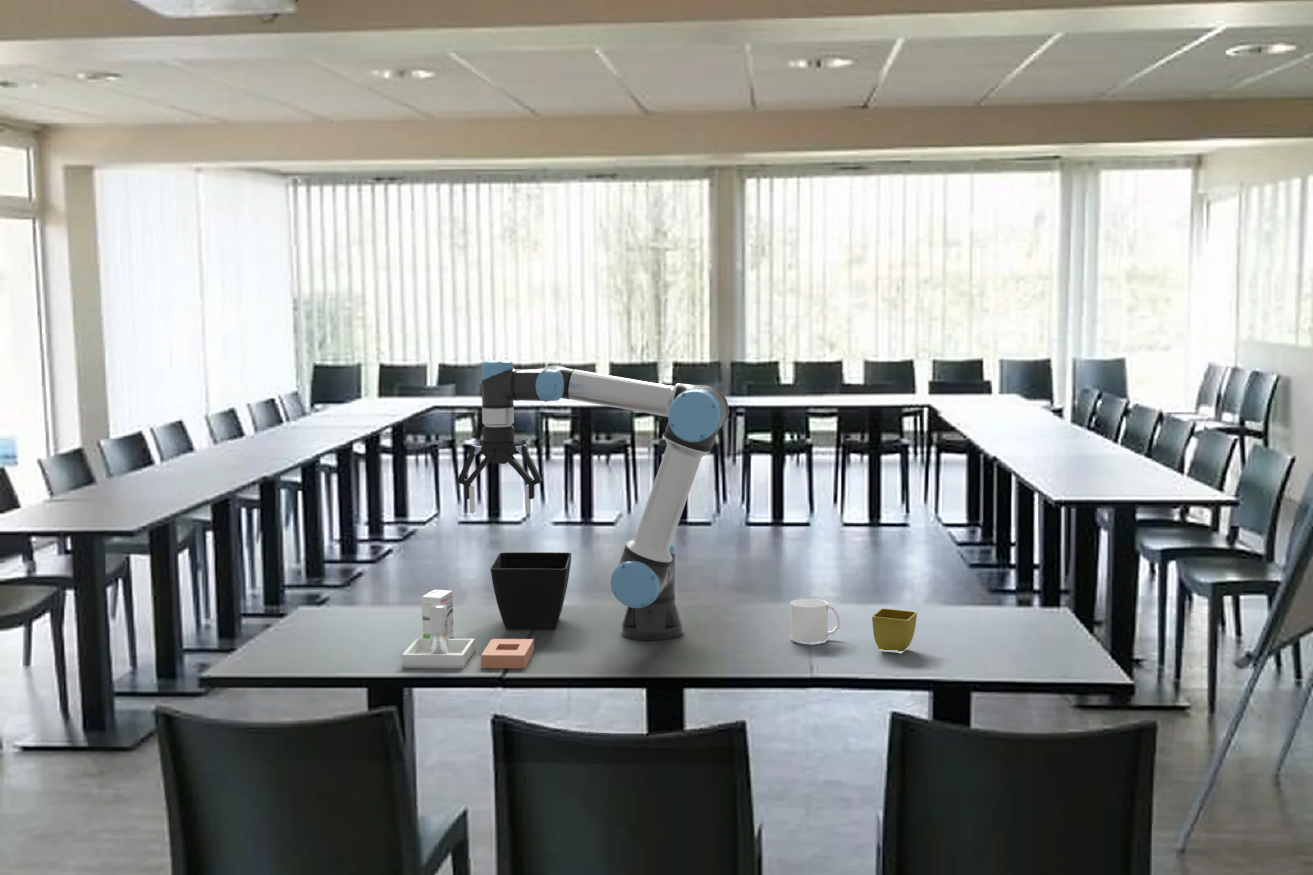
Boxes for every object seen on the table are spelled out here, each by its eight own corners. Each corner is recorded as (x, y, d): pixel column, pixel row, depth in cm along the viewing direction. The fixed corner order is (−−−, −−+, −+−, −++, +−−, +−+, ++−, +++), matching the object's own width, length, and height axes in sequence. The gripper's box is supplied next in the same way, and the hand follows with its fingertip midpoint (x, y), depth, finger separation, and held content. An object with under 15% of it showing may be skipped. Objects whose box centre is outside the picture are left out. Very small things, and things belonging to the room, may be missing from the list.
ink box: (441, 645, 325) (440, 597, 324) (422, 644, 326) (420, 596, 325) (454, 636, 334) (453, 589, 332) (435, 635, 335) (434, 588, 333)
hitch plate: (534, 651, 319) (533, 639, 319) (524, 668, 305) (524, 655, 305) (492, 651, 320) (491, 638, 319) (481, 668, 306) (480, 655, 306)
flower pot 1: (567, 633, 335) (566, 567, 333) (491, 634, 335) (489, 567, 334) (572, 614, 354) (571, 552, 352) (501, 615, 354) (499, 552, 352)
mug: (790, 645, 323) (790, 607, 322) (790, 635, 332) (790, 598, 331) (840, 646, 322) (840, 607, 321) (839, 636, 331) (839, 599, 330)
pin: (450, 654, 315) (448, 604, 313) (446, 659, 311) (444, 608, 309) (433, 654, 315) (431, 604, 314) (429, 659, 311) (427, 608, 310)
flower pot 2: (917, 648, 319) (917, 611, 318) (908, 658, 311) (908, 620, 310) (881, 644, 323) (881, 607, 321) (870, 653, 315) (871, 616, 314)
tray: (475, 651, 320) (474, 638, 319) (463, 668, 306) (462, 655, 305) (416, 651, 320) (416, 638, 320) (402, 668, 306) (402, 654, 306)
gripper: (552, 423, 326) (553, 509, 328) (450, 423, 327) (452, 509, 330) (547, 426, 319) (549, 515, 321) (443, 426, 320) (445, 515, 322)
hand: (500, 512), depth 325 cm, fingers open, 13 cm apart
